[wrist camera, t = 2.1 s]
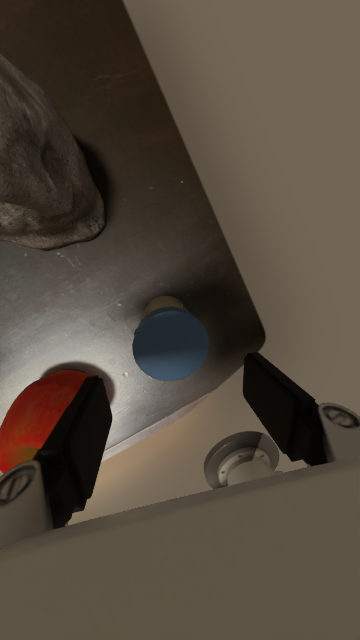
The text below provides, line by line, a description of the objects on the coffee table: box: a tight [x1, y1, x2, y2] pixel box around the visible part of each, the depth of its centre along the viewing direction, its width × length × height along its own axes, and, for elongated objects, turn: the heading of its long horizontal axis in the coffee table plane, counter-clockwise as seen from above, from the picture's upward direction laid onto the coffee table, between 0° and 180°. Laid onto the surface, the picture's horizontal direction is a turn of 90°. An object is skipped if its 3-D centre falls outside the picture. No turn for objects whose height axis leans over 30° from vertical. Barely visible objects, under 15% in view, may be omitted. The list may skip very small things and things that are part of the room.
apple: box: [0, 370, 91, 473], centre depth 21 cm, size 11×11×11 cm
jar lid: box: [132, 306, 209, 381], centre depth 16 cm, size 7×7×2 cm
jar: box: [142, 296, 188, 319], centre depth 20 cm, size 6×6×10 cm
